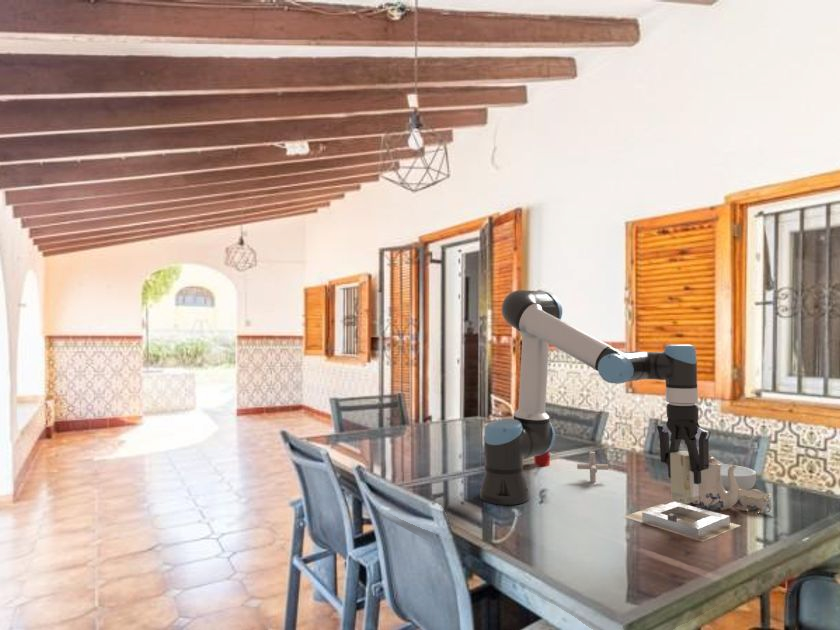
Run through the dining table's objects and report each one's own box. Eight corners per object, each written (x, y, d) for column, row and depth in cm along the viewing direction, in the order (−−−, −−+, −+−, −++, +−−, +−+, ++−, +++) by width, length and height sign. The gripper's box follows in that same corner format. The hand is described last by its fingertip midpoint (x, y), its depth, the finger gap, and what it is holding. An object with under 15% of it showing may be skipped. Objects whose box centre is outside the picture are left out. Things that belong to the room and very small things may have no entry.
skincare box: (686, 504, 139) (684, 455, 140) (670, 500, 143) (668, 452, 143) (700, 499, 143) (698, 452, 143) (684, 495, 146) (682, 449, 147)
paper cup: (556, 465, 209) (555, 428, 209) (539, 467, 206) (538, 430, 206) (544, 461, 216) (543, 425, 216) (527, 463, 213) (527, 427, 214)
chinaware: (779, 517, 154) (778, 457, 156) (762, 526, 143) (761, 461, 144) (676, 496, 174) (677, 443, 176) (654, 503, 163) (655, 446, 164)
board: (703, 545, 131) (703, 541, 131) (623, 520, 149) (623, 516, 149) (740, 529, 141) (740, 525, 141) (661, 507, 159) (661, 503, 159)
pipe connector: (610, 486, 181) (609, 455, 181) (578, 485, 183) (578, 455, 183) (606, 478, 190) (605, 449, 191) (576, 477, 192) (575, 448, 193)
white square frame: (698, 539, 132) (697, 524, 132) (642, 521, 145) (642, 508, 145) (729, 525, 141) (729, 512, 141) (674, 510, 153) (674, 497, 153)
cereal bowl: (747, 485, 179) (746, 464, 179) (764, 501, 163) (763, 477, 163) (690, 482, 184) (690, 461, 184) (701, 497, 168) (701, 474, 168)
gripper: (723, 405, 139) (726, 498, 138) (659, 399, 153) (662, 483, 152) (707, 408, 134) (710, 504, 134) (643, 401, 149) (646, 488, 148)
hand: (685, 493), depth 143 cm, fingers closed on skincare box, 4 cm apart
